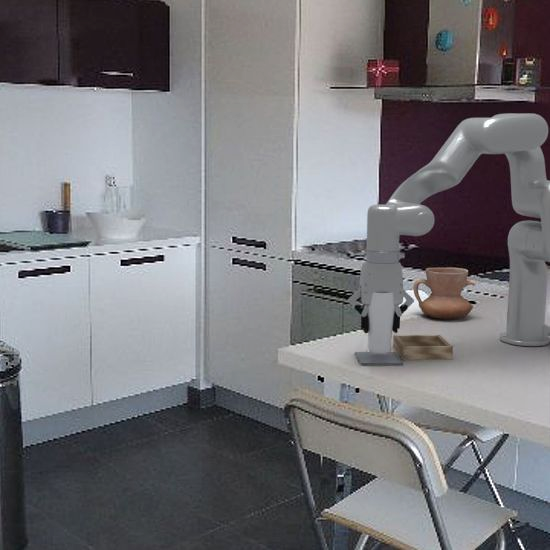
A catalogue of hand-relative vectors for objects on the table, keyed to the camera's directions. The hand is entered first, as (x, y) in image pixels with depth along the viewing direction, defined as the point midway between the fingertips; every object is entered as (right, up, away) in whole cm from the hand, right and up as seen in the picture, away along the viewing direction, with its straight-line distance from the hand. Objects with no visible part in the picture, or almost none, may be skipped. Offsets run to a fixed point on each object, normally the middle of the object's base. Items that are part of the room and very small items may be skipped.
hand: (380, 331), depth 202 cm
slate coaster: (0, -7, +1) cm, 7 cm away
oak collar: (+11, -6, +8) cm, 15 cm away
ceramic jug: (+25, +1, +48) cm, 54 cm away
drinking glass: (0, -5, +1) cm, 5 cm away
